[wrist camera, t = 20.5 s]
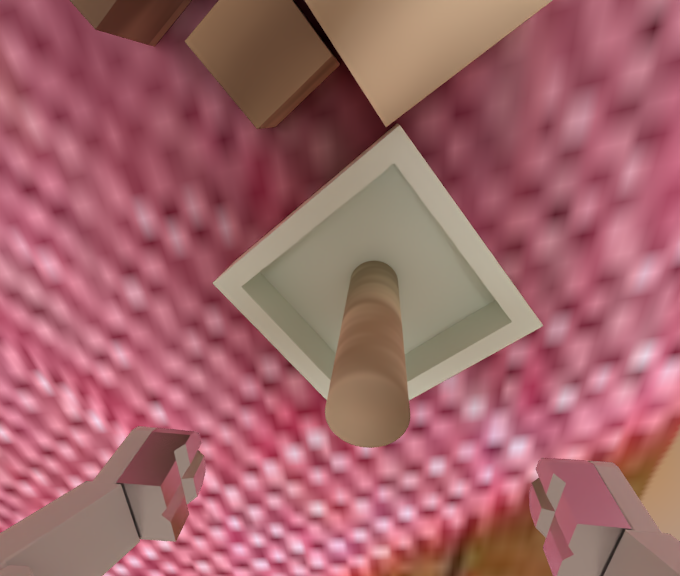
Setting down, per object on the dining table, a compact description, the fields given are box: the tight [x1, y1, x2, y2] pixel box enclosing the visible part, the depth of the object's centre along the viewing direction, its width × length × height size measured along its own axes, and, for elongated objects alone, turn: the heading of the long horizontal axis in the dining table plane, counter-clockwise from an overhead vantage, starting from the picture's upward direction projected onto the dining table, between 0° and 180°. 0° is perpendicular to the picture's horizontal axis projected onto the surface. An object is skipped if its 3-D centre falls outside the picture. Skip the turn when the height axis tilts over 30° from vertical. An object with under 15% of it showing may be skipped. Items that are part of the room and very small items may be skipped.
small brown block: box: [185, 0, 340, 129], centre depth 16 cm, size 4×4×3 cm
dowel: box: [325, 261, 410, 448], centre depth 16 cm, size 2×2×10 cm
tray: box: [213, 123, 543, 400], centre depth 20 cm, size 11×11×3 cm
